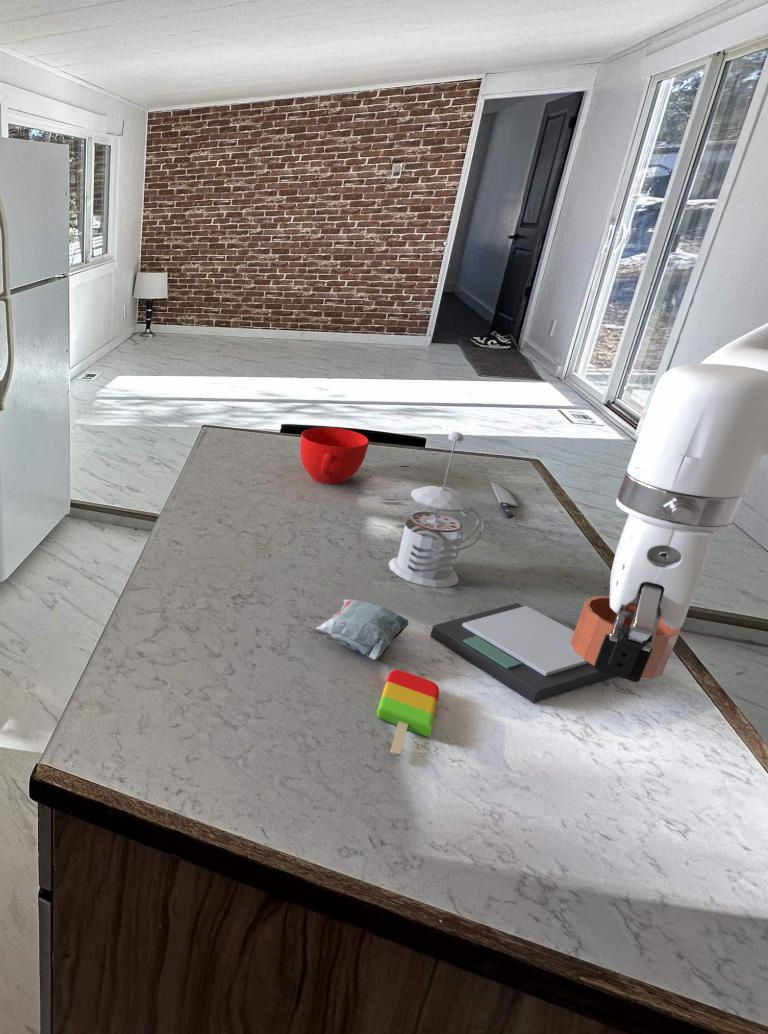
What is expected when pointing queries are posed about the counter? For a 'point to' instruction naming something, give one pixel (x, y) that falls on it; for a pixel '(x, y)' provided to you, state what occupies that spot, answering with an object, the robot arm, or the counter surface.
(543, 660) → the scale
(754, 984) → the counter surface
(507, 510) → the chef's knife
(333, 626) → the packaged food
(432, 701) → the popsicle
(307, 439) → the ceramic cup
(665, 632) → the bowl
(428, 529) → the french press
